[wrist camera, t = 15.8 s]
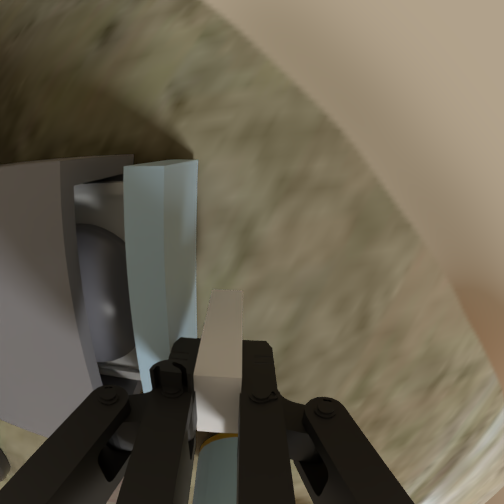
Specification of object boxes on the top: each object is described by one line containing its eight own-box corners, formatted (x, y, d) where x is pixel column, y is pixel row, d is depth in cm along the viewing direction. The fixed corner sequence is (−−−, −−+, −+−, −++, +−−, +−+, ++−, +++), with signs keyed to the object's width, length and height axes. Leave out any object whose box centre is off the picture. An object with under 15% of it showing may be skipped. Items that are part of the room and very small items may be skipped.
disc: (166, 345, 18) (161, 361, 17) (60, 346, 18) (50, 359, 17) (136, 213, 16) (125, 220, 14) (23, 233, 16) (7, 241, 14)
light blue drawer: (1, 343, 21) (-46, 392, 13) (-30, 173, 16) (-101, 190, 9) (198, 378, 21) (184, 461, 14) (198, 159, 17) (164, 166, 10)
